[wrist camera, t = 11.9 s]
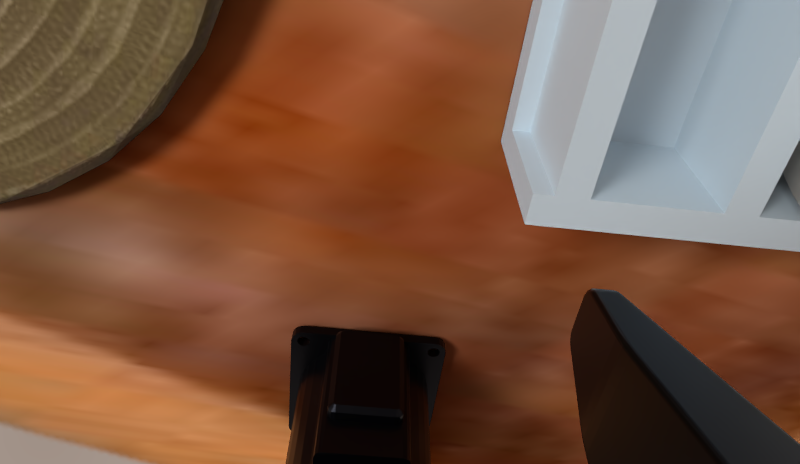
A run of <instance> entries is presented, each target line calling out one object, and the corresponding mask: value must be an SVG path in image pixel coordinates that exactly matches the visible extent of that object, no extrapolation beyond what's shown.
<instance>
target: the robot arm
mask: <svg viewBox="0 0 800 464" xmlns="http://www.w3.org/2000/svg"><path fill="white" fill-rule="evenodd" d="M300 337H306V338H308V339H302V338H300ZM570 345H571V354H572V362H573V370H574V377H575V385H576V393H577V401H578V409H579V417H580V425H581V431H582V438H583V443H584V447H585V452H586V456H587V460H588V464H800V444H799V443H798V442H797V441H795V440H794V439H793V438H792V437H791V436H789V435H788V434H787V433H786V432H785V431H783V430H782V429H781V428H780V427H779V426H777V425H776V424H775V423H774V422H773V421H772V420H770V419H769V418H768V417H767V416H766V415H764V414H763V413H762V412H761V411H760V410H758V409H757V408H756V407H755V406H754V405H752V404H751V403H750V402H749V401H748V400H747V399H745V398H744V397H743V396H742V395H741V394H739V393H738V392H737V391H736V390H735V389H733V388H732V387H731V386H730V385H729V384H727V383H726V382H725V381H724V380H723V379H722V378H720V377H719V376H718V375H717V374H716V373H714V372H713V371H712V370H711V369H710V368H708V367H707V366H706V365H705V364H704V363H703V362H701V361H700V360H699V359H698V358H697V357H695V356H694V355H693V354H692V353H691V352H689V351H688V350H687V349H686V348H685V347H683V346H682V345H681V344H680V343H679V342H678V341H676V340H675V339H674V338H673V337H672V336H670V335H669V334H668V333H667V332H666V331H664V330H663V329H662V328H661V327H660V326H658V325H657V324H656V323H655V322H654V321H653V320H651V319H650V318H649V317H648V316H647V315H645V314H644V313H643V312H642V311H641V310H639V309H638V308H637V307H636V306H635V305H633V304H632V303H631V302H630V301H629V300H628V299H626V298H625V297H624V296H623V295H622V294H620V293H619V292H617V291H614V290H603V289H590V290H588V291H587V293H586V294H585V296H584V298H583V301H582V303H581V306H580V309H579V312H578V314H577V317H576V320H575V323H574V326H573V328H572V332H571V339H570ZM432 348H436V350H430V349H432ZM444 357H445V343H444V342H443V341H442V340H441V339H439V338H435V337H425V336H413V335H402V334H390V333H379V332H368V331H356V330H345V329H334V328H322V327H311V326H300V327H297V328H296V329H295V330H294V331H293V335H292V340H291V371H290V406H289V428H290V430H291V436H290V442H289V447H288V453H287V459H286V464H431V459H430V436H429V426H430V422H431V417H432V412H433V408H434V403H435V399H436V394H437V389H438V385H439V380H440V376H441V371H442V367H443V362H444Z"/></svg>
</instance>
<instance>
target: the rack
mask: <svg viewBox="0 0 800 464" xmlns="http://www.w3.org/2000/svg"><path fill="white" fill-rule="evenodd" d="M799 140H800V0H533V3H532V7H531V11H530V16H529V20H528V25H527V29H526V33H525V38H524V42H523V47H522V51H521V55H520V60H519V64H518V69H517V73H516V77H515V82H514V86H513V91H512V95H511V99H510V104H509V108H508V113H507V117H506V121H505V126H504V130H503V135H502V139H501V143H502V147H503V150H504V154H505V157H506V161H507V164H508V168H509V171H510V175H511V178H512V182H513V185H514V189H515V192H516V195H517V199H518V202H519V206H520V209H521V213H522V216H523V220H524V223H525V224H527V225H537V226H547V227H557V228H567V229H577V230H587V231H597V232H607V233H616V234H626V235H636V236H646V237H656V238H666V239H676V240H686V241H696V242H706V243H716V244H726V245H736V246H746V247H756V248H766V249H776V250H786V251H796V252H800V205H799V204H798V202H797V201H796V199H795V197H794V196H793V194H792V192H791V190H790V188H789V186H788V183H787V181H786V179H785V177H784V174H783V171H784V169H785V167H786V165H787V163H788V161H789V159H790V157H791V155H792V153H793V151H794V149H795V148H796V146H797V144H798V142H799Z"/></svg>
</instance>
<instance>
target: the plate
mask: <svg viewBox="0 0 800 464" xmlns="http://www.w3.org/2000/svg"><path fill="white" fill-rule="evenodd" d="M783 174H784V177H785V179H786V181H787V183H788V186H789V188H790V190H791V192H792V194H793V196H794V197H795V199H796V201H797V202H798V204H799V205H800V140H799V142H798V144H797V146H796V148H795V149H794V151H793V153H792V155H791V157H790V159H789V161H788V163H787V165H786V167H785V169H784V171H783Z"/></svg>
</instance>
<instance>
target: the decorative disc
mask: <svg viewBox="0 0 800 464" xmlns="http://www.w3.org/2000/svg"><path fill="white" fill-rule="evenodd" d="M222 3H223V0H0V204H2V203H6V202H10V201H13V200H17V199H21V198H25V197H29V196H33V195H37V194H41V193H45V192H49V191H51V190H53V189H55V188H57V187H59V186H61V185H63V184H65V183H67V182H69V181H70V180H72V179H74V178H76V177H78V176H80V175H82V174H84V173H86V172H88V171H90V170H92V169H94V168H96V167H98V166H100V165H102V164H103V163H105V162H107V161H109V160H110V159H111V158H112V157H114V156H115V155H116V154H117V153H118V152H119V151H120V150H121V149H123V148H124V147H125V146H126V145H127V144H128V143H129V142H130V141H132V140H133V139H134V138H135V137H136V136H137V135H138V134H139V133H141V132H142V131H143V130H144V129H145V128H146V127H147V126H149V125H150V124H151V123H152V122H153V121H154V120H155V119H156V118H158V117H159V116H160V115H161V114H162V112H163V111H164V109H165V108H166V106H167V105H168V103H169V102H170V100H171V99H172V97H173V96H174V95H175V93H176V92H177V90H178V89H179V87H180V86H181V84H182V83H183V81H184V80H185V78H186V77H187V75H188V74H189V72H190V71H191V69H192V68H193V66H194V65H195V63H196V62H197V60H198V59H199V57H200V56H201V54H202V53H203V52H204V50H205V48H206V45H207V42H208V40H209V37H210V34H211V32H212V29H213V27H214V24H215V21H216V19H217V16H218V13H219V11H220V8H221V5H222Z"/></svg>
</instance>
